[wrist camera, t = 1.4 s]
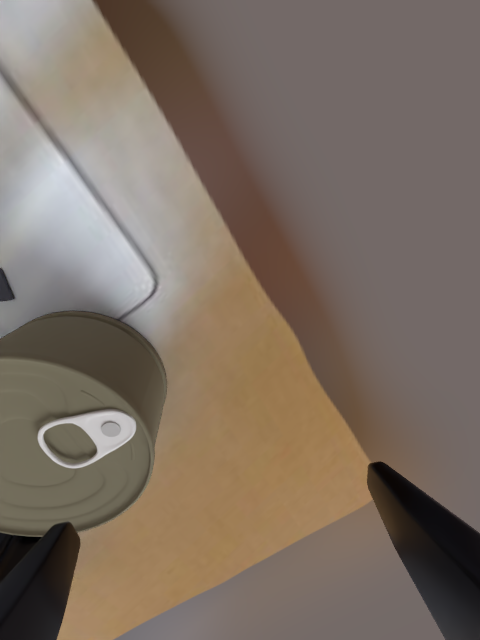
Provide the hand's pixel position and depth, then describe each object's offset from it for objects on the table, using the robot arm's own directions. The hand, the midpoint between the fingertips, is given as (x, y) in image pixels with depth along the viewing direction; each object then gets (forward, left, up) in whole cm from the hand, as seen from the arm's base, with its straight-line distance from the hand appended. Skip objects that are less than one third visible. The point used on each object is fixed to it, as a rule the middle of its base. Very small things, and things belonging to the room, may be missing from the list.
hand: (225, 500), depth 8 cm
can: (-3, +10, -13) cm, 16 cm away
